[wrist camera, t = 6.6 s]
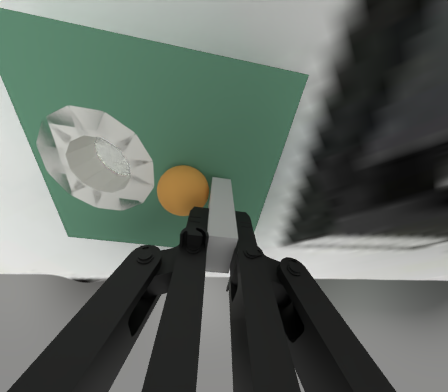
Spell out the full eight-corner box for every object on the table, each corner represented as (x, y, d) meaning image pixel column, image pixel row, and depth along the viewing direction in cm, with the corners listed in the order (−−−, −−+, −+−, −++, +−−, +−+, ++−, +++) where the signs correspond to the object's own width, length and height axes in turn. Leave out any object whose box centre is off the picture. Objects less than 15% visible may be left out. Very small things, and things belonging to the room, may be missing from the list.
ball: (203, 157, 15) (153, 157, 13) (219, 179, 12) (157, 182, 10) (199, 196, 17) (156, 199, 15) (212, 222, 14) (160, 230, 12)
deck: (36, 25, 13) (-31, 1, 9) (288, 79, 15) (308, 74, 11) (92, 214, 22) (68, 236, 19) (242, 231, 24) (246, 254, 21)
